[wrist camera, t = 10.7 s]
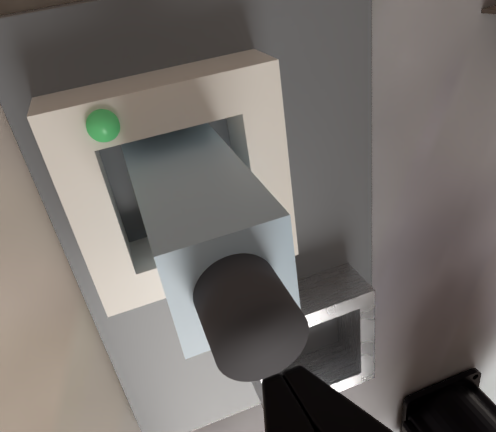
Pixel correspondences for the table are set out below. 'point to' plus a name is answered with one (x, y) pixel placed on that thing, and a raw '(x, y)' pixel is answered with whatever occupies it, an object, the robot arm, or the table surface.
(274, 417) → the robot arm
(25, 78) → the panel board
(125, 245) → the port block
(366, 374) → the hollow square tube
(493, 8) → the platform
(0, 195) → the table surface
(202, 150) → the plug
